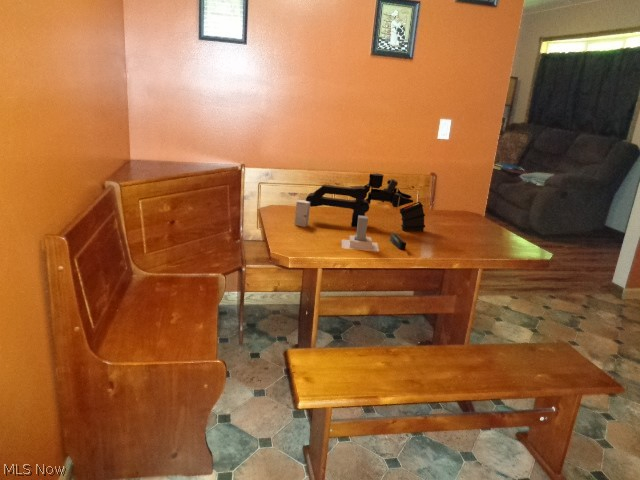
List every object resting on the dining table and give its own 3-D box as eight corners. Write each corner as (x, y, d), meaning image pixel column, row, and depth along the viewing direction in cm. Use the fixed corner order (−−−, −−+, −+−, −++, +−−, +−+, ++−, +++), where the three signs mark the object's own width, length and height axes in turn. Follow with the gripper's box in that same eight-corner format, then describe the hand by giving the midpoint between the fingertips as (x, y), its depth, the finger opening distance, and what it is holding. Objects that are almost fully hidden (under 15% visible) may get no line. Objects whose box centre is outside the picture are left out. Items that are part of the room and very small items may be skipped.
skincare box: (294, 225, 228) (295, 201, 224) (297, 222, 232) (298, 199, 228) (305, 227, 226) (307, 203, 222) (308, 224, 230) (310, 201, 226)
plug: (355, 246, 202) (358, 217, 197) (355, 243, 205) (358, 215, 201) (364, 247, 201) (368, 218, 197) (364, 244, 205) (367, 216, 201)
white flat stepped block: (341, 250, 198) (342, 241, 197) (341, 241, 210) (342, 233, 208) (378, 253, 198) (379, 245, 197) (376, 244, 209) (377, 236, 208)
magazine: (430, 229, 234) (422, 202, 229) (406, 238, 235) (397, 212, 230) (428, 227, 238) (419, 201, 233) (404, 236, 238) (395, 210, 233)
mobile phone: (407, 242, 201) (394, 230, 215) (401, 242, 201) (388, 230, 214) (406, 252, 203) (392, 240, 217) (399, 253, 202) (386, 241, 216)
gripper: (383, 182, 219) (416, 186, 218) (382, 175, 236) (412, 179, 235) (380, 205, 222) (412, 209, 221) (379, 197, 240) (409, 200, 239)
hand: (412, 199), depth 229 cm, fingers open, 9 cm apart
